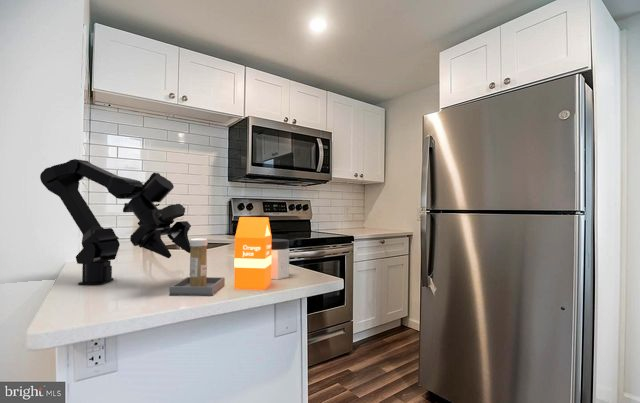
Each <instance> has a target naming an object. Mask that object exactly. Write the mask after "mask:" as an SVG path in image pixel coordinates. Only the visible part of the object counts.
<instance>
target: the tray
mask: <svg viewBox="0 0 640 403" xmlns="http://www.w3.org/2000/svg"><path fill="white" fill-rule="evenodd" d="M225 280H226V279H225V277H221V276H220V277H218V276H217V277H209V276H208V277H207V276H206V283H207V287H191V286H190V276H187V277H185V278H183V279H181V280H179V281H178V282H176V283H174V284H172V285H171V286H169V296H177V297H178V296H185V297H186V296H187V297H188V296H190V297H193V296H199V297H202V296H203V297H211V296H214V295H215V294H216V293H217V292H218V291H220V290H221V288H223V287H224V286H225V282H226V281H225Z"/></svg>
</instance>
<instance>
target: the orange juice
mask: <svg viewBox="0 0 640 403" xmlns="http://www.w3.org/2000/svg"><path fill="white" fill-rule="evenodd" d="M270 225H271V224H270V219H269V217H264V216H262V217H258V216H240V217H239V219H238V222H237V227H236V231H235V232H236V233H235V235H234V265H233V266H234V277H233V279H234V280H233V283H234V285H233V288H234V290H235V289H236V290H257V291H258V290H259V291H261V290H262V291H263V290H266V289H267V288H268V287H269V286H270V285H271V283H272V279H271V239H273V238H272V232H271V226H270Z"/></svg>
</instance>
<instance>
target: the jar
mask: <svg viewBox="0 0 640 403" xmlns="http://www.w3.org/2000/svg"><path fill="white" fill-rule="evenodd" d="M289 242H290V240H289V239H284V238H271V280H283V279H288V278H289V276H290V248H289V246H290V243H289Z"/></svg>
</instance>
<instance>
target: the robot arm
mask: <svg viewBox="0 0 640 403" xmlns="http://www.w3.org/2000/svg"><path fill="white" fill-rule="evenodd" d="M39 178H40V179H39V180H40V182H41V183H42V185H43V186H44V187H45V188H46V189H47V190H48V191H49V192H51V193H52V194H54V195H56V196H58V197H59V198H60V200H61V202H62V203H63V205H64V206H65V208H66V209H67V211H68V213H69V215H70V216H71V217H72V220H73V221H74V223H75V224H76V226H77V228H78V229H79V231H80V232H81V234H82V239H81V245H82V249H81V250H80V251H79V252H78V253H77V254H76V256H75V260H76V264H78V265H79V264H80V265H82V269H81V270H82V272H81V273H82V275H81V277H82V279H81V281H79V282H78V283H77V285H82V286H83V285H84V286H85V285H89V286H90V285H91V286H92V285H95V286H97V285H99V286H100V285H103V284H106V283H108V282H111V281H114V279H115V278H114V277H113V275H112V274H113V266H112V264H111V261H113V260H116V258H117V255H118V251H119V249H120V246H121V244H120V241H119V237H118V236H117V235H116V233H115V231H114V228H112V227H107V228H104V227H103V226H101V224H100V222H99V221H98V219H97V218H96V216H95V215H94V213H93V211H92V210H91V208H90V207H89V205H88V204H87V202H86V201H85V198H84V197H83V196H82V194H81V193H80V191H79V188H80V181H82V180H83V179H84V178H86V179H88V180H91V181H92V182H94V183H95V184H99V185H101V186H102V187H105V188H106V190H107V191H108V192H107V193H110V194H111V195H112V196H113V197H115V198H116V199H118V200H129V201H128V202H124V205H123V208H122V213H133V215H134V216H135V217H136V218H137V220H138V222H137V225H138V227H137V229H135V230H134V232H133V233H131V235H130V240H129V241H130V242H131V244H132V245H133V246H134V247H137V246H138V247H139V248H143V249H146V250H148V251H150V252H153V253H155V254H156V255H157V254H158V255H160V256H162V257H165V258H167V259H170V258H171V257H172V253H171V252H170V250H169V248H168V247H167V246H166V244H165V242H164V241H163V240H162V236H167V237H168V239H170V240H171V242H172V243H173V244H174V245H176V246H177V247H179V248H181V249H182V250H183V251H185V252H187V253H188V254H190V249H191V248H190V247H191V246H190V240H189V237H188V234H189V231H190V228H191V227H192V225H191V223H189V221H188V220H187V221H185V220H181V221H176V222H175V219H178V218H181V217H183V216H185V213H186V208H185V207H184V206H183V204H181V203H176V204H169V205H167V206H165V207H163V208H161V209H160V208H158V207H157V206H156V205H155V203H161V202H162V201H163V200H164V199H165V198H166V197H167V196H168V195H169V193H170V192H172V190H173V189H174V187H175V185H174V184H173V182H172V181H171V180H169V179H167V178H166V177H164V176H163V175H161V174H160V173H159V172H153V173H151V174H150V177H149V178H148V179H147V180H145V182H144V183H143V182H141V181H140V180H137V179H133V178H129V177H123V176H119V175H117V174H114V173H112V172H110V171H108V170H106V169H104V168H102V167H99V166H97V165H95V164H92V163H91V162H90V161H88V160H86V159H85V160H83V159H78V158H77V159H76V158H73V159H70V160H68V161H67V162H63V163H59V164H54V165H51V166H49V167H46V168H45V169H44V170H42V171H41V173H40V175H39ZM171 225H172V226H171Z"/></svg>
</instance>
